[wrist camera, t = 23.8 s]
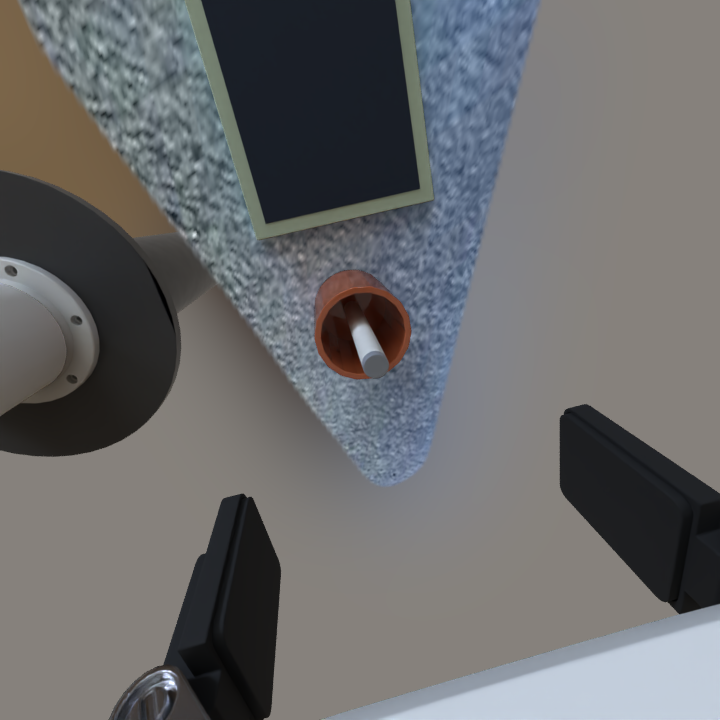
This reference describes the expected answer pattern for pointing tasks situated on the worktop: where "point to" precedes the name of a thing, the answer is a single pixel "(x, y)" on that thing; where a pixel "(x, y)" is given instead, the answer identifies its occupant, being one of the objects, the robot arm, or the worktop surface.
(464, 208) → the worktop surface
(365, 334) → the stylus
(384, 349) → the pen cup
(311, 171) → the tablet
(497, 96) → the worktop surface
